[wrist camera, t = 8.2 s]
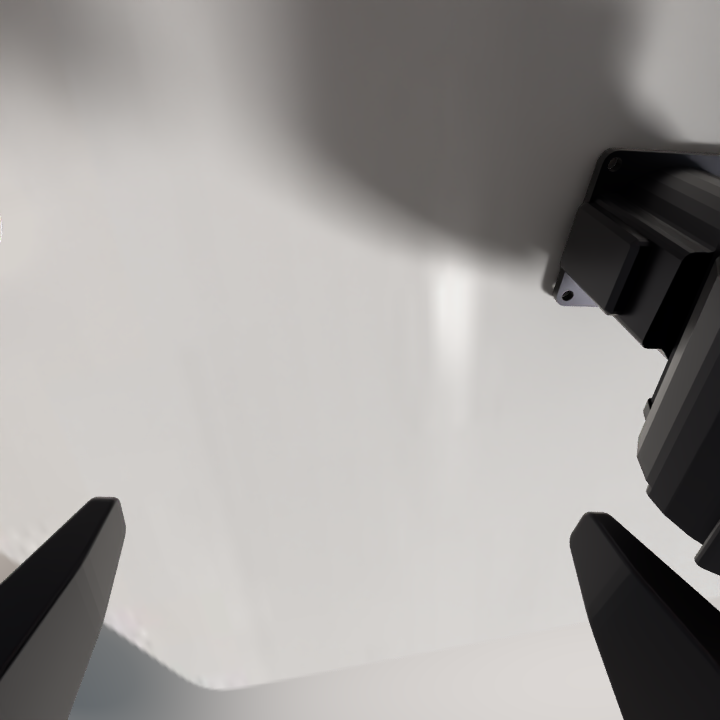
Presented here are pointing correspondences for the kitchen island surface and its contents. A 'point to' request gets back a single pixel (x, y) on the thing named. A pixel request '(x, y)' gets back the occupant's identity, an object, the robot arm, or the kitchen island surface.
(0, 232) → the pill bottle
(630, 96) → the kitchen island surface
